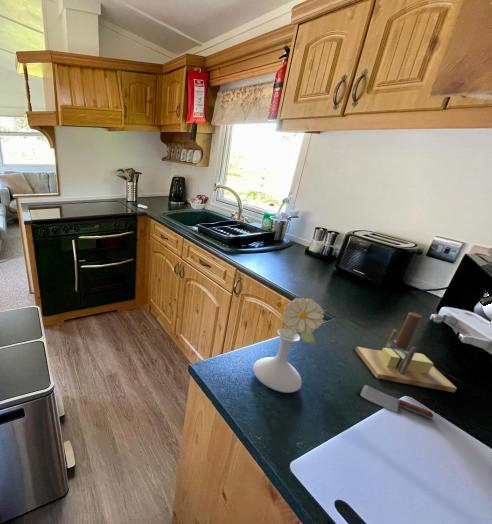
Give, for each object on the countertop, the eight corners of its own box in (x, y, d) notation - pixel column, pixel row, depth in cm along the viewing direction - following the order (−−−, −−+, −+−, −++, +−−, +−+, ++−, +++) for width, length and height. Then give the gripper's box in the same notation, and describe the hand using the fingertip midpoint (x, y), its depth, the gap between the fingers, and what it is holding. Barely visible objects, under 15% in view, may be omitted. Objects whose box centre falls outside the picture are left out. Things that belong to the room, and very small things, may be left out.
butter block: (418, 364, 81) (423, 354, 80) (428, 374, 78) (433, 363, 76) (389, 359, 82) (394, 349, 81) (398, 368, 79) (403, 358, 78)
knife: (391, 357, 83) (413, 309, 78) (405, 372, 78) (430, 322, 72) (381, 355, 84) (402, 308, 78) (394, 370, 78) (418, 320, 72)
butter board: (422, 362, 85) (437, 333, 81) (454, 392, 74) (473, 361, 70) (355, 350, 88) (366, 322, 84) (376, 378, 77) (390, 347, 73)
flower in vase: (243, 366, 77) (263, 282, 69) (279, 362, 80) (303, 281, 71) (274, 406, 66) (303, 310, 57) (315, 399, 68) (350, 307, 59)
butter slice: (386, 358, 83) (391, 348, 81) (395, 368, 79) (400, 357, 78) (378, 357, 83) (383, 347, 82) (386, 366, 79) (391, 356, 78)
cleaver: (360, 394, 70) (364, 380, 73) (358, 398, 71) (362, 384, 74) (434, 429, 62) (434, 411, 65) (431, 432, 63) (431, 415, 66)
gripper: (478, 305, 80) (422, 298, 83) (562, 351, 62) (487, 339, 64) (468, 325, 83) (413, 317, 85) (546, 374, 64) (473, 362, 66)
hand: (445, 327), depth 74 cm, fingers open, 8 cm apart
